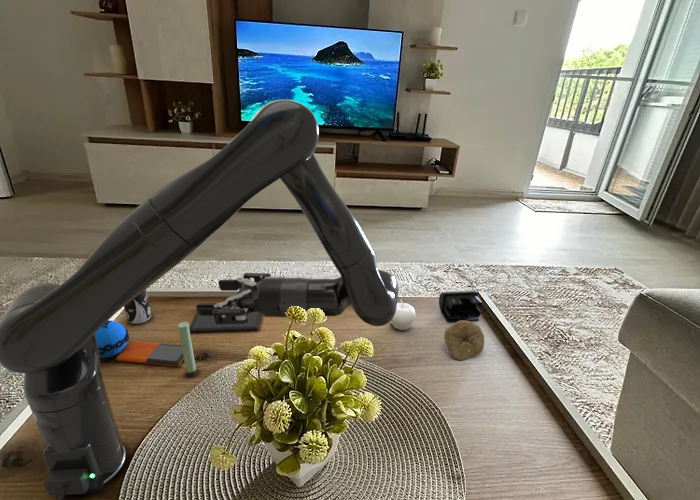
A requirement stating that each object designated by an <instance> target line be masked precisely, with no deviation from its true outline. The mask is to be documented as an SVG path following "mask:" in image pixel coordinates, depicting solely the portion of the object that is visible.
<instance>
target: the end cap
mask: <svg viewBox="0 0 700 500" xmlns="http://www.w3.org/2000/svg"><path fill="white" fill-rule="evenodd" d="M438 306H439V310H440V312H441V315H442V316H443V318H444V319H445V321H446V322H447V323H448V324H449V323H450V324H451V323H453V324H454V323H456V322H458V321H470V322H478V321H479V319H480V318H479V317H481V314H482V311H481V310H480V308H481V309H482V308H483V302H482V301H481V299H480V298H479V292H478V291H477V290H462V291H460V290H459V291H443V292H441V293H440V294H439V296H438Z"/></svg>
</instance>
